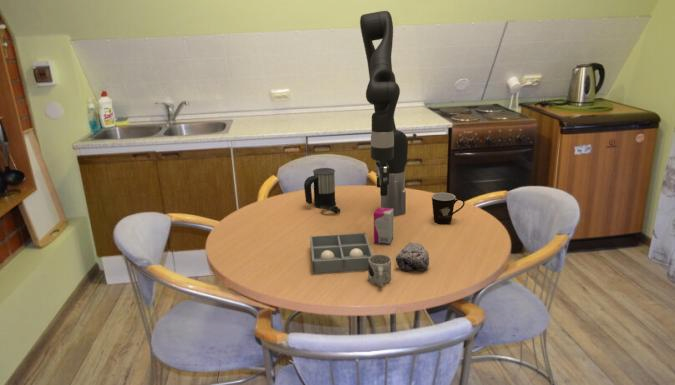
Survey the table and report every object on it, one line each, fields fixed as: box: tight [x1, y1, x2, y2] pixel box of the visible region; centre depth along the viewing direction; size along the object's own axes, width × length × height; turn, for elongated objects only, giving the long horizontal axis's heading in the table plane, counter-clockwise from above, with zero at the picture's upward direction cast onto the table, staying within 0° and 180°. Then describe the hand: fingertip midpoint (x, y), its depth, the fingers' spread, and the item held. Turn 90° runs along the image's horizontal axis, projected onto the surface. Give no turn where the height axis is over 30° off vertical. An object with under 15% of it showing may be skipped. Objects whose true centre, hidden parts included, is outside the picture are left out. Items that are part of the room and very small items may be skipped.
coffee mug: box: [431, 192, 466, 226], centre depth 191 cm, size 12×9×10 cm
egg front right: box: [321, 250, 335, 260], centre depth 162 cm, size 4×4×4 cm
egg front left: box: [349, 248, 363, 258], centre depth 162 cm, size 4×4×4 cm
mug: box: [367, 253, 392, 287], centre depth 151 cm, size 10×7×7 cm, turn 178°
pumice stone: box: [395, 241, 430, 272], centre depth 159 cm, size 10×8×10 cm
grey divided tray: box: [309, 232, 374, 275], centre depth 167 cm, size 19×19×4 cm
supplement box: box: [373, 206, 395, 246], centre depth 177 cm, size 6×6×12 cm
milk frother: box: [303, 167, 341, 214], centre depth 208 cm, size 14×16×15 cm
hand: (381, 191), depth 173 cm, fingers open, 8 cm apart
